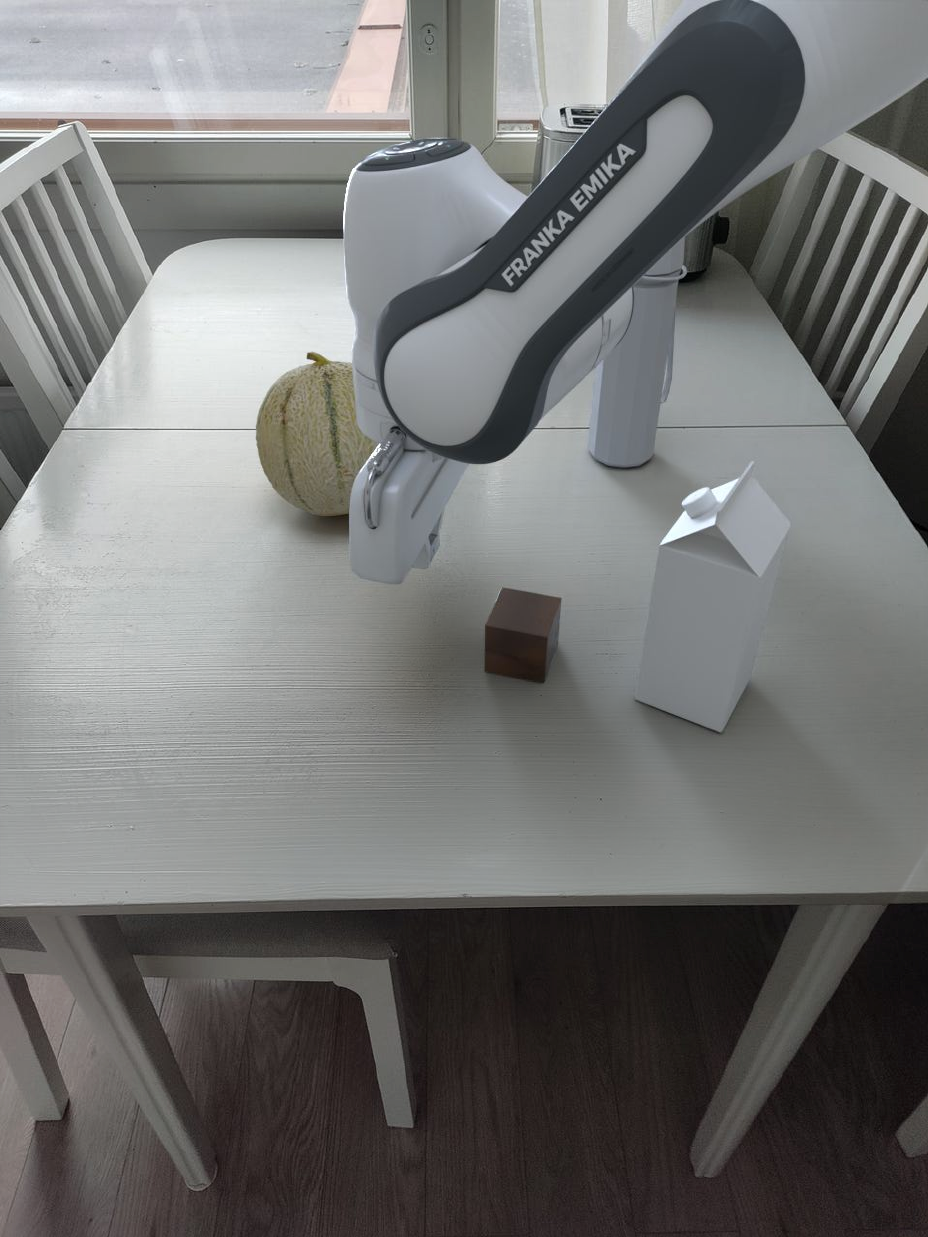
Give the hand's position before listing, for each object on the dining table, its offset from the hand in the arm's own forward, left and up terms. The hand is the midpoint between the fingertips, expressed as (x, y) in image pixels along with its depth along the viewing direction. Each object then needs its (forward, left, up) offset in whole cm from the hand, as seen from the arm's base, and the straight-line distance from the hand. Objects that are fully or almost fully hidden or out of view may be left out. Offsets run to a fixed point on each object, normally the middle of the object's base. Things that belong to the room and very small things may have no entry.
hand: (423, 557), depth 75 cm
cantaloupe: (+15, -17, -9) cm, 24 cm away
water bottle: (-11, -35, -9) cm, 38 cm away
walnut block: (-8, 0, -9) cm, 12 cm away
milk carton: (-22, 0, -9) cm, 24 cm away
